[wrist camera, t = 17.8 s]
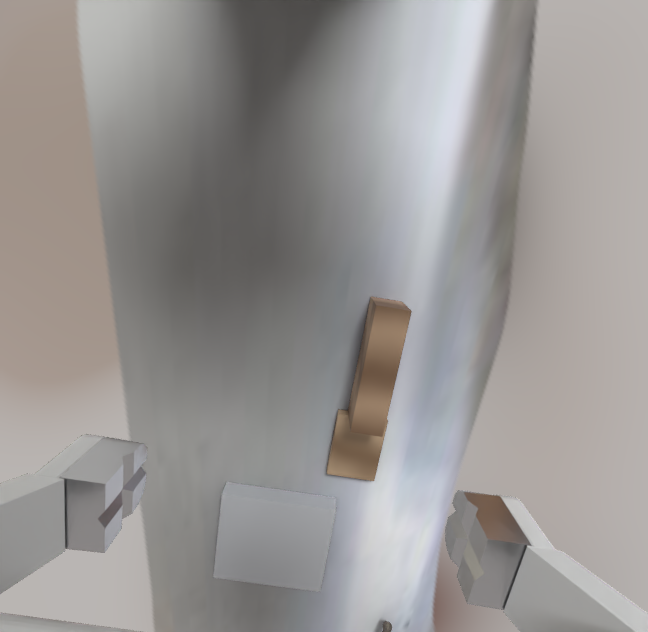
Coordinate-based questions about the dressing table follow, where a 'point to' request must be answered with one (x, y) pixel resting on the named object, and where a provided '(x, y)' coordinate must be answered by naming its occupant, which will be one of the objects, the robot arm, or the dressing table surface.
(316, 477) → the dressing table surface
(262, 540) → the tile
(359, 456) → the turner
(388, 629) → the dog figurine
